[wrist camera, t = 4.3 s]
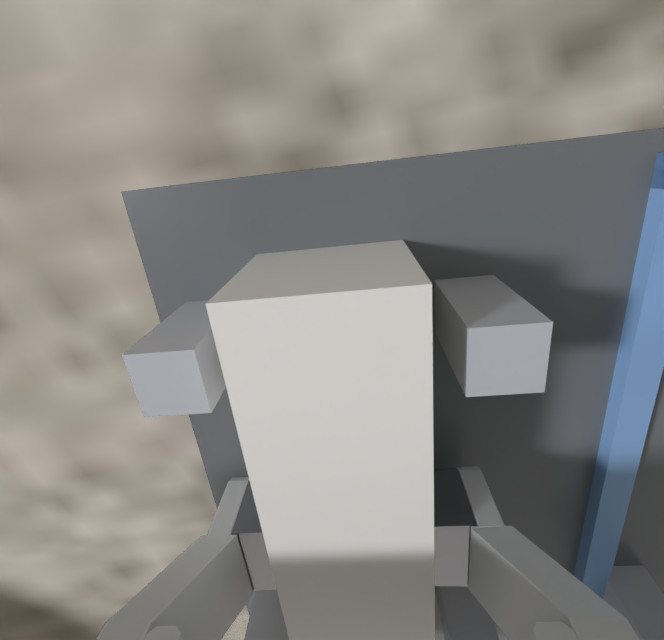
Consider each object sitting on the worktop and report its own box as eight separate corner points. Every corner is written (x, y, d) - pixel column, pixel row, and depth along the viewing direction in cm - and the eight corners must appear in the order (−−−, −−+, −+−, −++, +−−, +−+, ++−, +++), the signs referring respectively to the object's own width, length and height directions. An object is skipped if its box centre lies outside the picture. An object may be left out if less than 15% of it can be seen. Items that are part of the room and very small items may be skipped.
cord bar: (257, 254, 8) (205, 303, 5) (403, 239, 8) (431, 283, 5) (324, 615, 12) (315, 746, 10) (416, 614, 12) (436, 748, 9)
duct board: (166, 186, 9) (17, 204, 5) (1001, 88, 8) (1746, 1, 4) (269, 584, 15) (238, 746, 11) (765, 574, 13) (950, 758, 9)
